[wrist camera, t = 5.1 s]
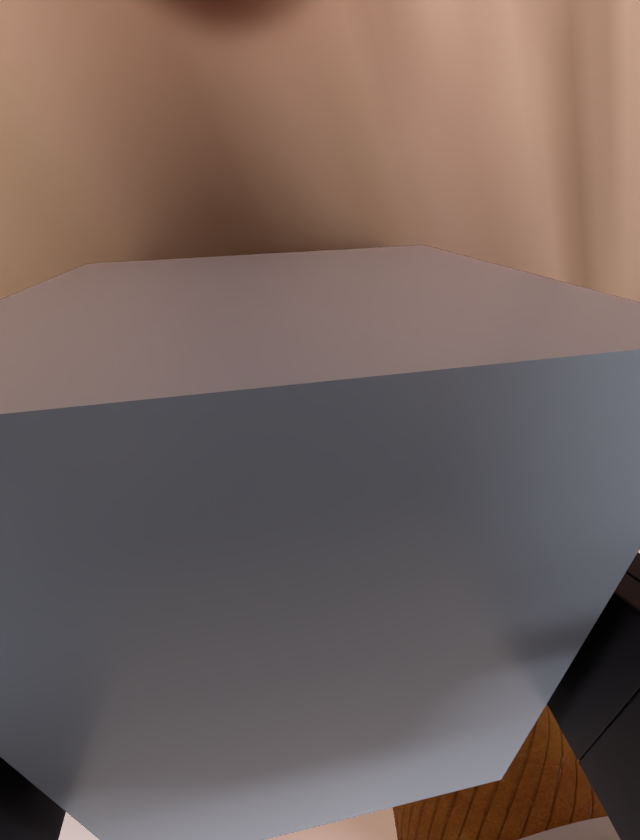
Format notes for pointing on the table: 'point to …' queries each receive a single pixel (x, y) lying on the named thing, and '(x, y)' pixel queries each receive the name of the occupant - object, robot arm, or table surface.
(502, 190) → the table surface
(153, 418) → the grey rectangular block
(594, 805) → the disposable coffee cup
